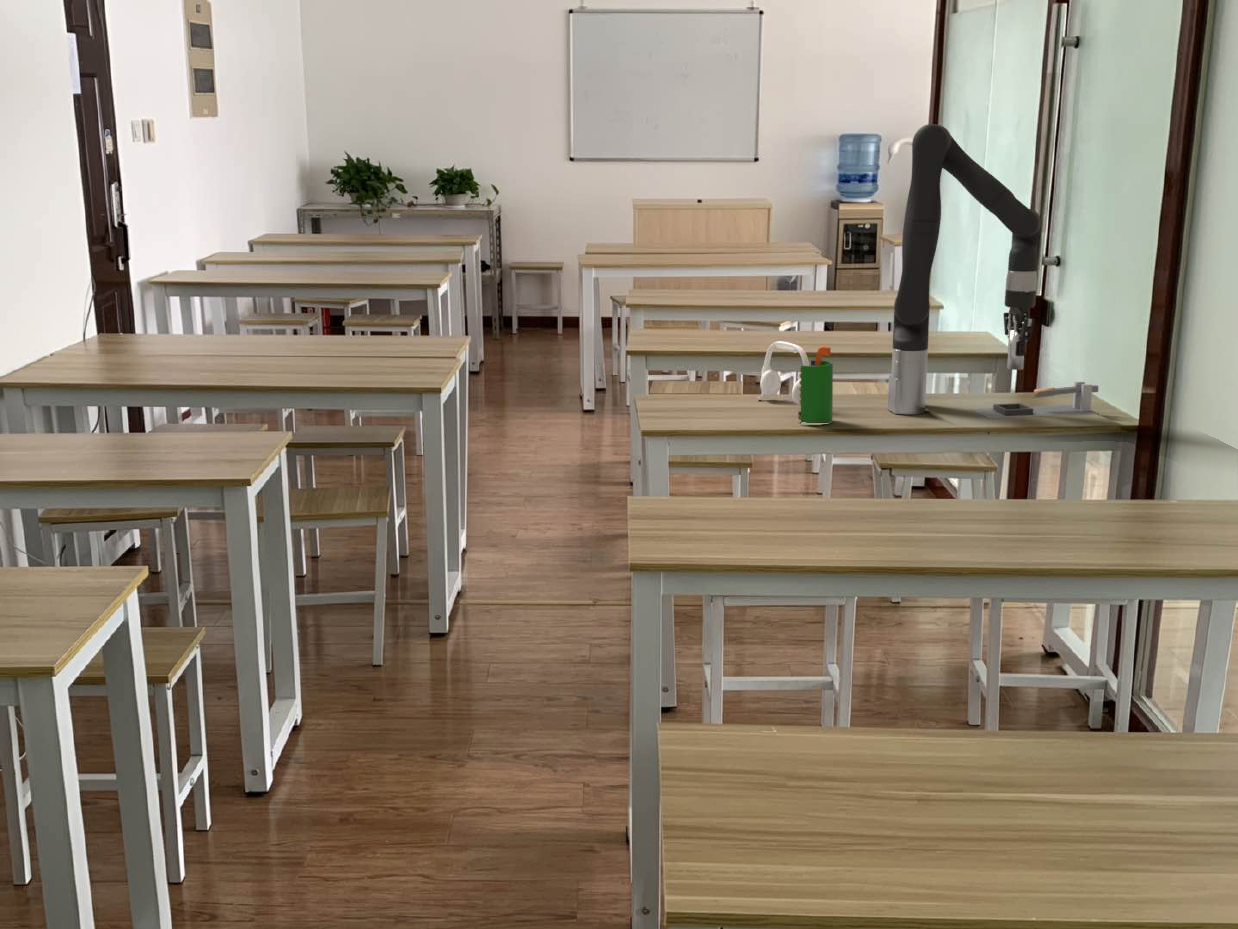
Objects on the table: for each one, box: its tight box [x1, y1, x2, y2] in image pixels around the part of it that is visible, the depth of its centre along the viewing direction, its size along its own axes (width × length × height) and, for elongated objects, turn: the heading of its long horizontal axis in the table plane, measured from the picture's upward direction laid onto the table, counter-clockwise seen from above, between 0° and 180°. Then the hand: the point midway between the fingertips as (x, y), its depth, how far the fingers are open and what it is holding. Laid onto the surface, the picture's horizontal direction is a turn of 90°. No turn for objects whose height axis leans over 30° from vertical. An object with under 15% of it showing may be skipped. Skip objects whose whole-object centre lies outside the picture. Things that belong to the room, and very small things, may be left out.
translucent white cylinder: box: [1006, 330, 1025, 371], centre depth 323 cm, size 4×4×10 cm
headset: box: [757, 340, 810, 406], centre depth 346 cm, size 20×7×18 cm, turn 29°
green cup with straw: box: [797, 345, 834, 423], centre depth 324 cm, size 10×9×20 cm
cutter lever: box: [1033, 384, 1099, 398], centre depth 327 cm, size 17×2×2 cm, turn 97°
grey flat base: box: [971, 381, 1101, 419], centre depth 327 cm, size 30×12×8 cm, turn 97°
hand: (1016, 354), depth 323 cm, fingers closed on translucent white cylinder, 4 cm apart
